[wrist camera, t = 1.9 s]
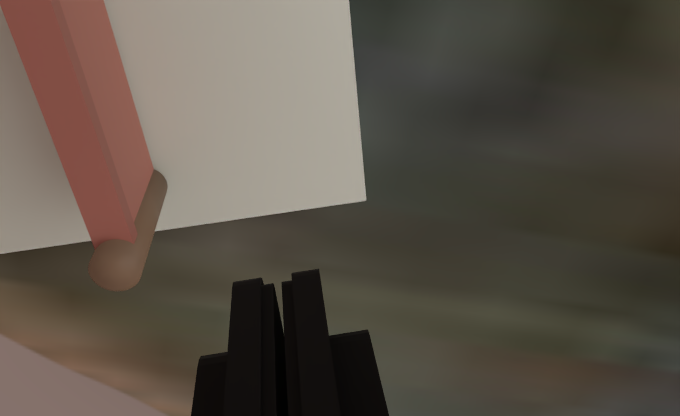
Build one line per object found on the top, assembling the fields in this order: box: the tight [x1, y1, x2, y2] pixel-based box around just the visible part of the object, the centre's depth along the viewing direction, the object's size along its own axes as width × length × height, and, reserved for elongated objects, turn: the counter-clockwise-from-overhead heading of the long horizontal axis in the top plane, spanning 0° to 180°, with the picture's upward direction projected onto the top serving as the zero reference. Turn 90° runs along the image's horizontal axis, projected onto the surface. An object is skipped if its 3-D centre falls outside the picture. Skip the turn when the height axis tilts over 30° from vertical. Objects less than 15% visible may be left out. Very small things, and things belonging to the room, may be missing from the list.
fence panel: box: [0, 0, 168, 291], centre depth 21 cm, size 11×2×7 cm, turn 6°
